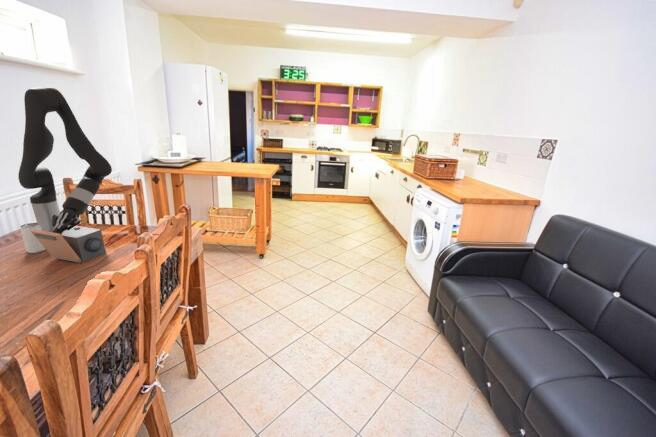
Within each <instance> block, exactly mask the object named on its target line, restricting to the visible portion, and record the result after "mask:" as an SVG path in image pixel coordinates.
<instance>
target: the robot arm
mask: <svg viewBox="0 0 656 437" xmlns="http://www.w3.org/2000/svg"><path fill="white" fill-rule="evenodd" d="M64 96H65V95H63V94H62V92H61V91H59V90H58V89H57V88H55V87H52V86H43V87H33V88H29V89H27V90H26V91H25V93H24V96H23V98H24V100H23V101H24V114H25V124H24V135H23V142H22V143H23V146H22V147H23V148H22V149H23V150H22V157H21V162H20V165H19V170H18V183H19V184H20V186H21V187H22V188H23V189H26V190H35V189H40V190H39V191H38V192H37V193H35V194H33V195H31V196H30V197H29V200H30V203H31V207H32V211H33V214H34V218H35V220H36V223H38V225H39V226H40V227H41V230H42V231H46V232H52V233H58V234H62V233H63V231H65V230H70V229H71V228H73V227H74V226H78V225H79V224H80V223H81V222H82V219H79V218H80V216H81V215H84V214H85V212H86V210H87V209H88V207H89V206H90V204H91V203H92V201H93V199H94V197H95V196H96V194H97V193H98V191H99V189H100V187H101V185H100V184H101V183H102V181H103V180H104V179H105V178H106V177H108V176H109V175H111V173H113V172H112V171H113V170H112V165H111V164H110V162H109V161H108V160H107V159H106V158H105V157H104V156H103V155H102V154H101V153H100V152H99V151H97V149H96V147H95V146H94V144H92V142H91V141H90V140H89V138H88V137H87V136H86V134H85V133H84V131H83V129H82V127H81V126H80V124H79V122H78V120H77V118H76V116H75V115H74V112H73V111H72V109H71V107H70V105H69V103H68V102H67V99H66V98H65V97H64ZM54 112H56V114H58V116H59V117H60V119H61V121H62V122H63V126H64V132H65V137H66V141H67V143H68V145H69V146H70V148H71V149H72V150H73V151H74V153H75V154H76V155H77V157H78V158H80V159H81V160H84V161H85V162H86V163H87V164H88V165H89V166H88V167H87V169H86V171H85V172H84V174H83V176H82V179H80V181H79V182H78V183H77V185H76V186H75V188H74V189H73V190H72V191H71V192H70V194H69V195H68V197H66V199H65V201H64V202H63V204H62V205H61V207H62V210H60V208H59V207H60V206H59V202H58V200H57V192H56V187H55V182H54V177H53V174H52V172H51V170H49V169H48V167H45V166H44V167H43V166H41V167H38V166H39V165H40V164H42V163H43V162H44V161H45V160H46V159H47V158H48V157H49V156H51V154H52V151H53V148H54V142H55V138H54V135H53V134H52V132H51V130H50V129H49V128H48V126H47V125H46V117H47V114H48V113H54Z"/></svg>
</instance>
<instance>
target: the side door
mask: <svg viewBox="0 0 656 437" xmlns="http://www.w3.org/2000/svg"><path fill="white" fill-rule="evenodd" d="M31 232H32V234H33V235H34V236H35V237H36V238H37V239H38V241H39V242H40V243H41V244H42V245H43V246H44V248H45V249H46V250H45V251H47V253H48V254H49V255H50V256H51V257H52V258H54V259H57V260H58V259H59V260H64V261H68V262H74V263H82V262H81V259H80V258H79V257H78V256H77V254H76V253H75V252H74V250H73V249H72V248H71V247H70V245H69V244H68V243H67V242H66V240H65V239H64V238H63V236H62V235H61V234H58V233H52V232H46V231H41V230H35V229H33V230H32V231H31Z"/></svg>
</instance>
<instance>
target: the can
mask: <svg viewBox="0 0 656 437" xmlns="http://www.w3.org/2000/svg"><path fill="white" fill-rule="evenodd" d="M33 229H35V230H41V227H40V226H39V225H38V223H37V222H30V223H25V224H22V225H20V230H19V232H20V234H21V237H22V241H23V244H24V247H25V250H26V252H27V253H29V254H36V253H37V254H38V253H41V252H44V251H47V250H46V249H45V248H44V246H43V245H42V244H41V243H40V242H39V241H38V239H37V238H36V237H35V236H34V235H33V234H32V232H31V231H32V230H33ZM41 231H42V230H41Z"/></svg>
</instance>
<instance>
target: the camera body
mask: <svg viewBox="0 0 656 437" xmlns="http://www.w3.org/2000/svg"><path fill="white" fill-rule="evenodd" d="M61 235H62V236H63V238H64V239H65V240H66V242H67V243H68V244H69V245H70V247H71V248H72V249H73V250H74V252H75V253H76V254H77V256H78V257H79V258H80V259H81V262H80V263H85V262H87V261H88V262H89V261H91V260H92V259H94V258H97V257H99V256H102V255H104V254H106V253H107V251H106V247H105V242H104V238H103V233H102V229H99V228H93V227H87V226H86V227H85V226H81V225H80V226H79V225H76V226H74V227H73V228H71V229H70V230H65V231H63V233H62V234H61Z"/></svg>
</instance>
